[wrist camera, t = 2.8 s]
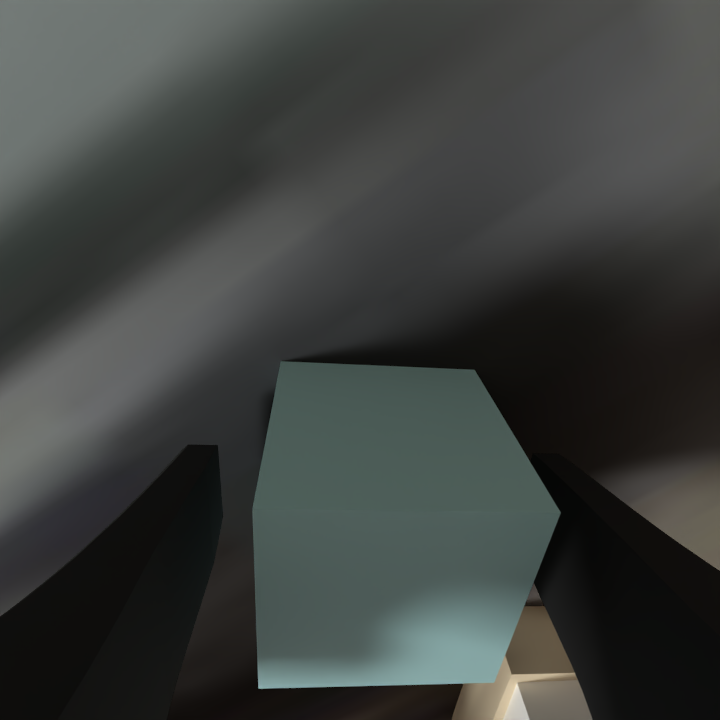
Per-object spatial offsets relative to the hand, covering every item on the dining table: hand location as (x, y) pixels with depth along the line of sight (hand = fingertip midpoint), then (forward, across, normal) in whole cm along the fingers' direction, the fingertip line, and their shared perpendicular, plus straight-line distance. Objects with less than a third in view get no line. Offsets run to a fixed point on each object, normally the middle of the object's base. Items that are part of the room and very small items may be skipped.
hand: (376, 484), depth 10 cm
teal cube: (+2, 0, 0) cm, 2 cm away
